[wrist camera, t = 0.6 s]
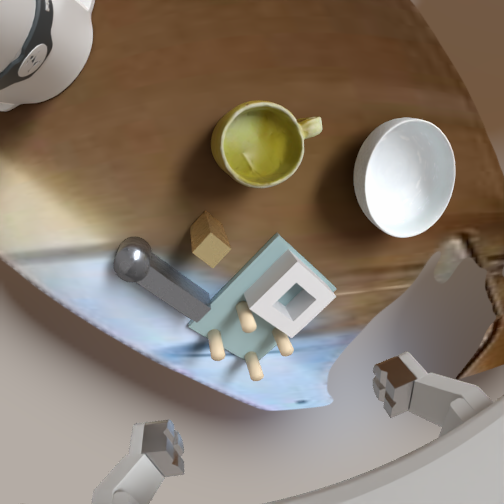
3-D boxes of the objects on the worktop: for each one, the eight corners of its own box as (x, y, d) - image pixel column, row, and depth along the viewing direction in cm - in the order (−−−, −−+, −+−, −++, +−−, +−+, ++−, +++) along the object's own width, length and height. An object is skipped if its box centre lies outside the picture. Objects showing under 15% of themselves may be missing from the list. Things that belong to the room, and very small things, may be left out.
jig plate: (188, 323, 47) (190, 348, 42) (276, 232, 44) (290, 250, 39) (252, 361, 53) (260, 385, 48) (334, 285, 50) (350, 306, 45)
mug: (211, 201, 38) (235, 192, 29) (194, 122, 37) (213, 90, 28) (298, 183, 42) (341, 173, 33) (282, 112, 41) (319, 86, 31)
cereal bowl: (343, 232, 46) (366, 252, 40) (332, 120, 39) (358, 123, 33) (427, 210, 48) (454, 224, 42) (424, 112, 41) (455, 116, 35)
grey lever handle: (112, 254, 40) (106, 268, 37) (131, 229, 40) (127, 241, 36) (192, 310, 46) (193, 326, 43) (212, 289, 46) (215, 304, 42)
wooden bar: (190, 227, 41) (192, 252, 34) (205, 210, 41) (210, 232, 34) (207, 241, 42) (213, 268, 35) (222, 224, 42) (231, 249, 35)
